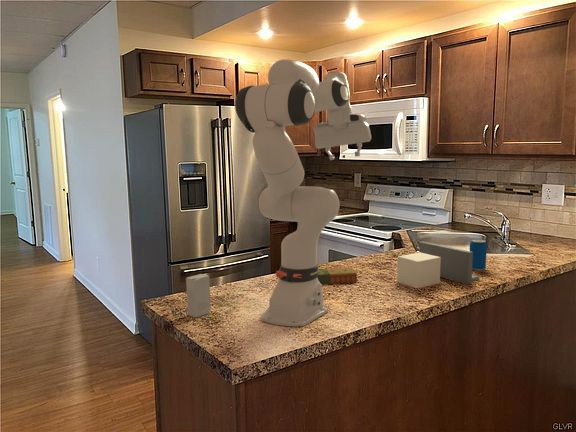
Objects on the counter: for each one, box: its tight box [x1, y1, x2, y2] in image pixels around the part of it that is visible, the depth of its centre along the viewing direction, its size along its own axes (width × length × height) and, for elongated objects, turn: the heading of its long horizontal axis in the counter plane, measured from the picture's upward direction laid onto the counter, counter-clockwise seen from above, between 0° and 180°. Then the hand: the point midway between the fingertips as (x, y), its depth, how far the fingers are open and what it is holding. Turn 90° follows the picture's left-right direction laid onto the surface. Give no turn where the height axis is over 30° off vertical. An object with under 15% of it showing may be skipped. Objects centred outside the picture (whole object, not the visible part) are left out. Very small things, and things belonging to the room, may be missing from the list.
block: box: [396, 252, 441, 289], centre depth 174 cm, size 12×10×10 cm
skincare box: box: [185, 273, 212, 318], centre depth 143 cm, size 6×4×12 cm
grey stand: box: [418, 241, 480, 285], centre depth 183 cm, size 9×24×12 cm, turn 31°
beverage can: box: [469, 238, 488, 271], centre depth 192 cm, size 6×6×12 cm
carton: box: [317, 267, 358, 285], centre depth 179 cm, size 8×16×4 cm, turn 95°
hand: (344, 158), depth 168 cm, fingers open, 8 cm apart
